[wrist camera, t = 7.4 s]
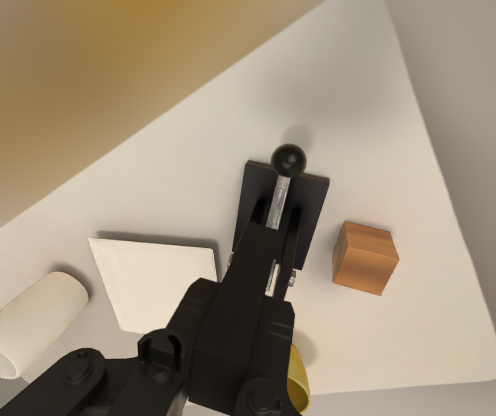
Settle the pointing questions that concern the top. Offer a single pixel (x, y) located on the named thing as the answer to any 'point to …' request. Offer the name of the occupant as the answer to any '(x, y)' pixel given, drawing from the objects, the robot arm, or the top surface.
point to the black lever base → (292, 219)
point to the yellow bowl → (298, 382)
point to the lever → (283, 184)
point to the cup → (37, 320)
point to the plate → (148, 279)
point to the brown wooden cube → (363, 258)
